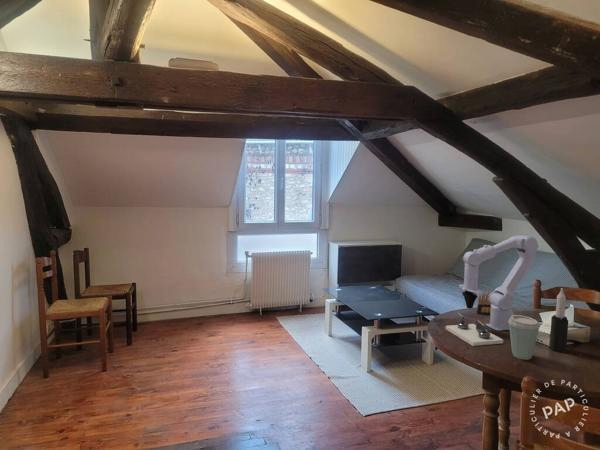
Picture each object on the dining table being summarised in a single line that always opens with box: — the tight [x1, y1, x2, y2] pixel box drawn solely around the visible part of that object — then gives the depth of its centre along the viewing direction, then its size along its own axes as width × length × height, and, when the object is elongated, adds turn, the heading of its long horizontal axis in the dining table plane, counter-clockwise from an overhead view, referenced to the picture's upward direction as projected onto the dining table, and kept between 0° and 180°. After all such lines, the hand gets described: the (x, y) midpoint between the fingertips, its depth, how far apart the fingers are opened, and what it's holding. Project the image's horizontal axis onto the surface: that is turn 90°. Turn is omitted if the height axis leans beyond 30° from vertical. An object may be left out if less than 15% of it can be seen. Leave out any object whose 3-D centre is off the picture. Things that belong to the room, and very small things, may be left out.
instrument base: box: [445, 323, 504, 347], centre depth 179 cm, size 14×20×2 cm
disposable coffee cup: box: [508, 314, 541, 361], centre depth 157 cm, size 11×11×15 cm
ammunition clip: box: [476, 290, 493, 316], centre depth 208 cm, size 11×2×12 cm, turn 78°
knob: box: [455, 312, 469, 329], centre depth 187 cm, size 10×4×4 cm, turn 178°
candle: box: [549, 287, 569, 354], centre depth 164 cm, size 5×5×25 cm
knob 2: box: [475, 320, 491, 339], centre depth 176 cm, size 10×4×4 cm, turn 178°
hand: (469, 308), depth 188 cm, fingers closed
